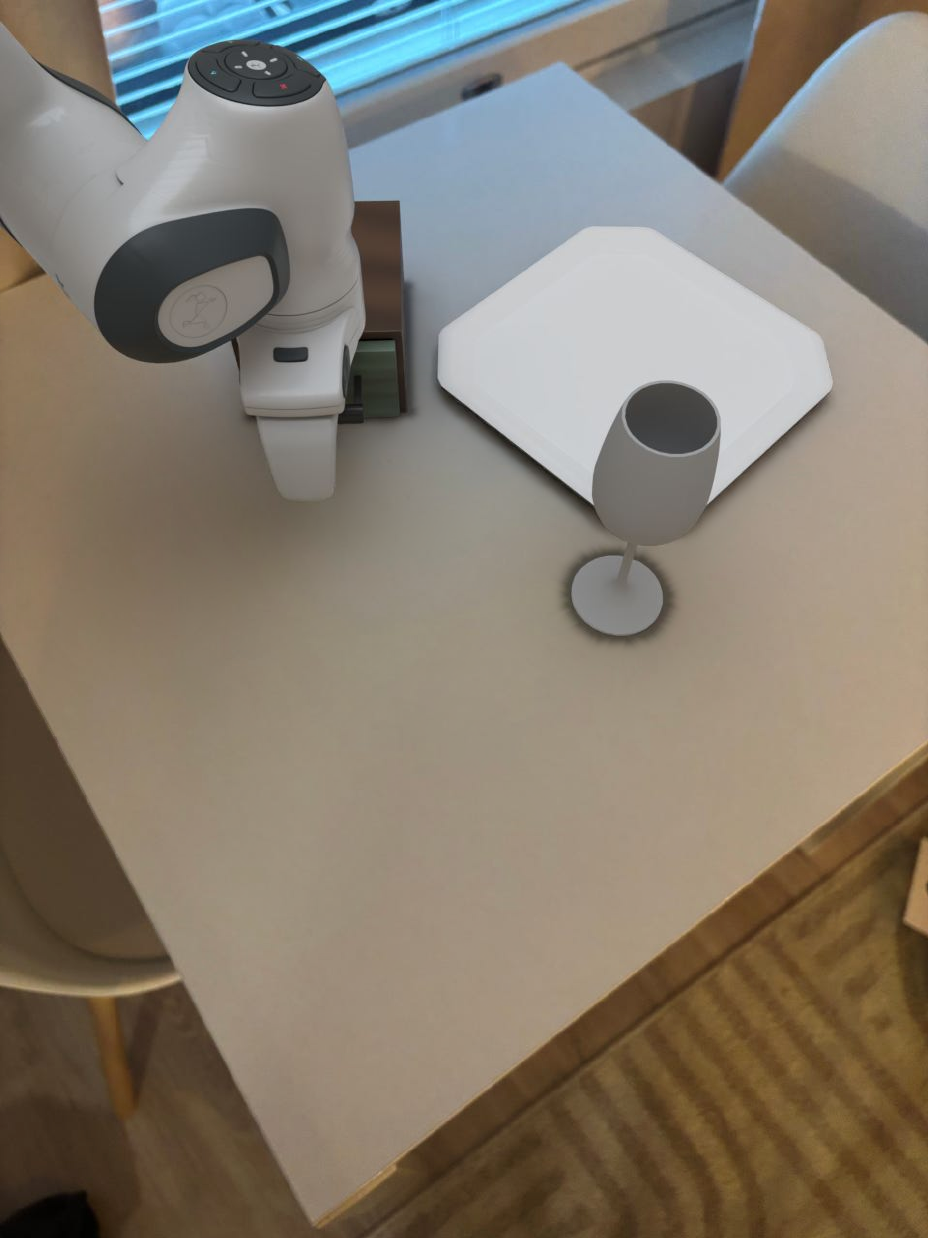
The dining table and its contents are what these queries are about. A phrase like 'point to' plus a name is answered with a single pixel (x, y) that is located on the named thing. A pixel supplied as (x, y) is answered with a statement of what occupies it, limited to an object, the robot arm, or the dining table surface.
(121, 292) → the robot arm
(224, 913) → the dining table surface
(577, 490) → the plate
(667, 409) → the wineglass
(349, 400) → the drawer
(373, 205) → the cabinet
